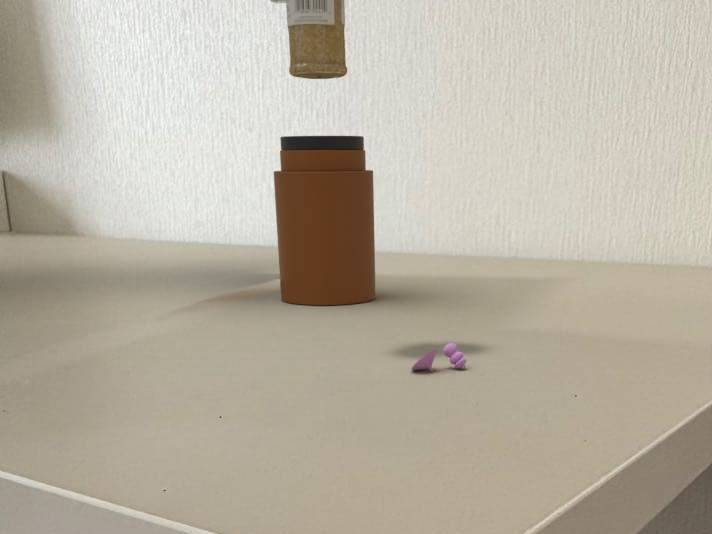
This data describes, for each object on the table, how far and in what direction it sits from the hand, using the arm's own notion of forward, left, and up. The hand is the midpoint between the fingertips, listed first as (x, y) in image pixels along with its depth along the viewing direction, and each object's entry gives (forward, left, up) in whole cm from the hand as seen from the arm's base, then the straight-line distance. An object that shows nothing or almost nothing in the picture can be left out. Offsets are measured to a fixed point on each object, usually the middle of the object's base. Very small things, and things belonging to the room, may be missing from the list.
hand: (315, 0), depth 66 cm
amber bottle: (0, 0, -22) cm, 22 cm away
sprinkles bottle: (0, 0, -5) cm, 5 cm away
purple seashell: (+16, -24, -22) cm, 36 cm away
